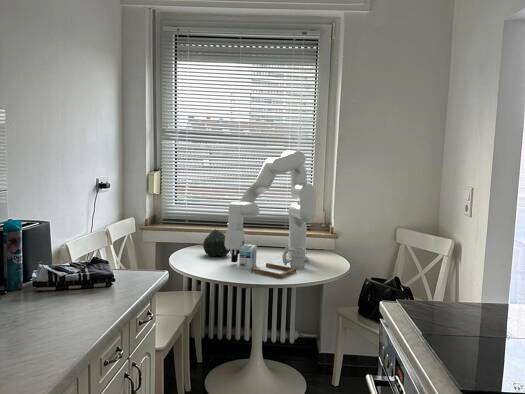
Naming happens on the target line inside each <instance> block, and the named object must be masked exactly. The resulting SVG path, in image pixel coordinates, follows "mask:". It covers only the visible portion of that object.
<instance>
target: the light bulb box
mask: <svg viewBox="0 0 525 394" xmlns="http://www.w3.org/2000/svg"><path fill="white" fill-rule="evenodd" d="M257 247H258V246H257V244H248V243H245V245H243V246H242V247H240V253H239V254H238V258H239V259H238V269H239V270H248V271H251V268H255V267H257Z"/></svg>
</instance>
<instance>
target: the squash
mask: <svg viewBox="0 0 525 394" xmlns="http://www.w3.org/2000/svg"><path fill="white" fill-rule="evenodd" d="M225 235H226V234H224V233H223V232H221V231H220V230H219V229H218V230H217V229H215V228H214V230H212V231H211V232H210V233H209V234H208V235H207V236H206V237H205V239H204V240H203V244H202V246H203V250H204V252H205V254H207V256H209V257H216V256H219V257H221V258H224V257H226V256H227V255H228V254H229V253H230V251H229V250H227V249H226V247H225Z"/></svg>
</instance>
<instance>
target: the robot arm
mask: <svg viewBox="0 0 525 394" xmlns="http://www.w3.org/2000/svg"><path fill="white" fill-rule="evenodd" d="M305 163H306V155H305V153H303V152H302V151H300V150H286V151H283V152H282V154H281V155H280V157H275V156H274V157H271V156H270V157H268V158H267V159H266V160H265V161H264V163H263V165H262V167H261V168H260V171H259V173H258V175H257V177H256V178H255V180H254V182H253V183H251V185H250V186H249V187H248V188H247V189H246V190H245V192H244V194H242V197H241V199H240V200H239V202H238V201H237V202H235V201H234V202H230V203H229V205H228V222H227V224H226V226H227V228H226V231H225V234H224V235H225V247H226V249H227V250H229V253H230V254H231V256H230V258H231V259H230V261H231V263H238V262H239V259H238V258H239V255H240V247H242V246H243V245H245V244H246V243H245V242H246V241H245V239H246V238H245V230H244V217H245V218H246V217H247V218H255V217H257V216H259V214H260V210H261V209H260V207H259V205H258V204H257V203H255V202H256V200H257V199H258V197H259V196H261V195H262V194H263V193H266V192H267V191H268V190H270V189H271V187H272V184H273V182H274V181H275V179H276V177H277V175H282V174H283V175H284V174H286V173H288V172H290V195H291V197H292V198H293V199H295V200H297V201H295V202H292V203H291V204H290V205H289V207H288V215H287V216H288V221H289V222H288V226H289V228H288V244H287V245H288V246H289V249H292V248H304V250H305V257H304V262H307V261H309V257H308V256H307V254H309V251H308V250H306V249H307V246H306V245H307V230H308V228H307V223H309V222H312V221H313V220H314V219H315V217H316V213H317V191H316V188H315V187H314V186H313V185H312V184H310V183H308V178H307V176H308V175H307V169H306V165H304V164H305ZM291 253H292V252H291V251H289V252H288V253H287V254H286V259H287V260H289V259H291Z"/></svg>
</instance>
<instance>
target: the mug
mask: <svg viewBox="0 0 525 394" xmlns="http://www.w3.org/2000/svg"><path fill="white" fill-rule="evenodd" d="M288 245H289V244H288V243H286V244H285V248H284V252H283V253H282V257H281V258H282V263H283V266H287V265H288V264H289V265H290V268H295V269H297V270H304V269H305V267H306V263H305V261H304V257H305V256H306V254H305V250H304V248H292V249H289V246H288ZM289 251H291V252H292V253H291V259H289V260H287V259H286V256H287V255H288V252H289Z"/></svg>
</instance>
